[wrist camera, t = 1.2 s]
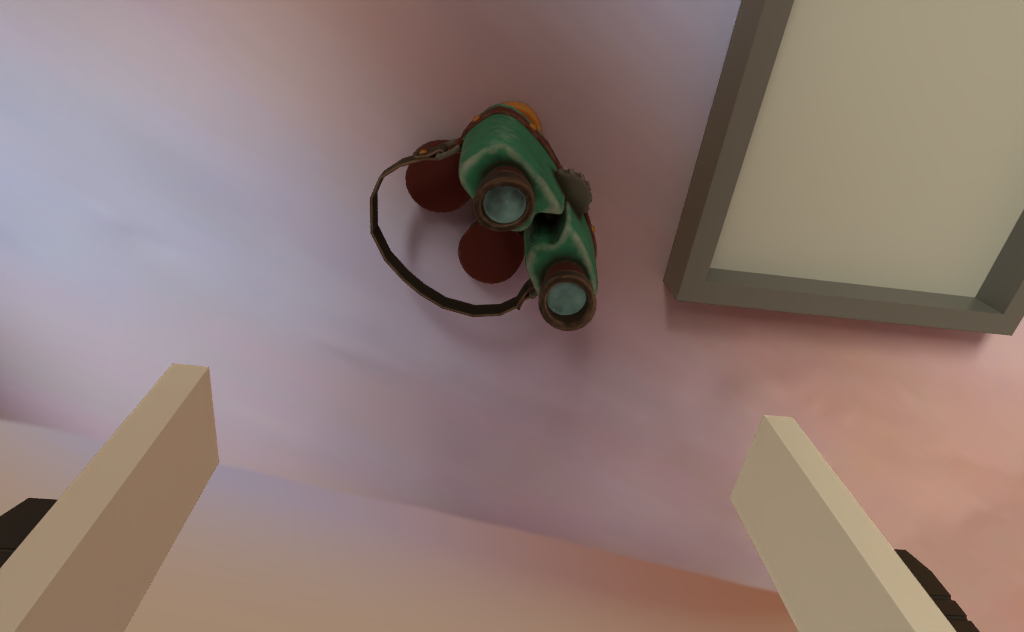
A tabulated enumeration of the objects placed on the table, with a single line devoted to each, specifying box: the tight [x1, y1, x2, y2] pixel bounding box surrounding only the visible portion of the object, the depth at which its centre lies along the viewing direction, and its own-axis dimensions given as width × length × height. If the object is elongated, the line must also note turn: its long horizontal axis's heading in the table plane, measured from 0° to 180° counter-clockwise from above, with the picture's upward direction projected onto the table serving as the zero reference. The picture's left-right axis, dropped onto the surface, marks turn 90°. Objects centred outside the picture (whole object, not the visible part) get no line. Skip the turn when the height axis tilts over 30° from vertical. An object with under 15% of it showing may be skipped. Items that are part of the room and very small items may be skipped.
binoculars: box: [370, 102, 598, 331], centre depth 26 cm, size 9×11×10 cm
